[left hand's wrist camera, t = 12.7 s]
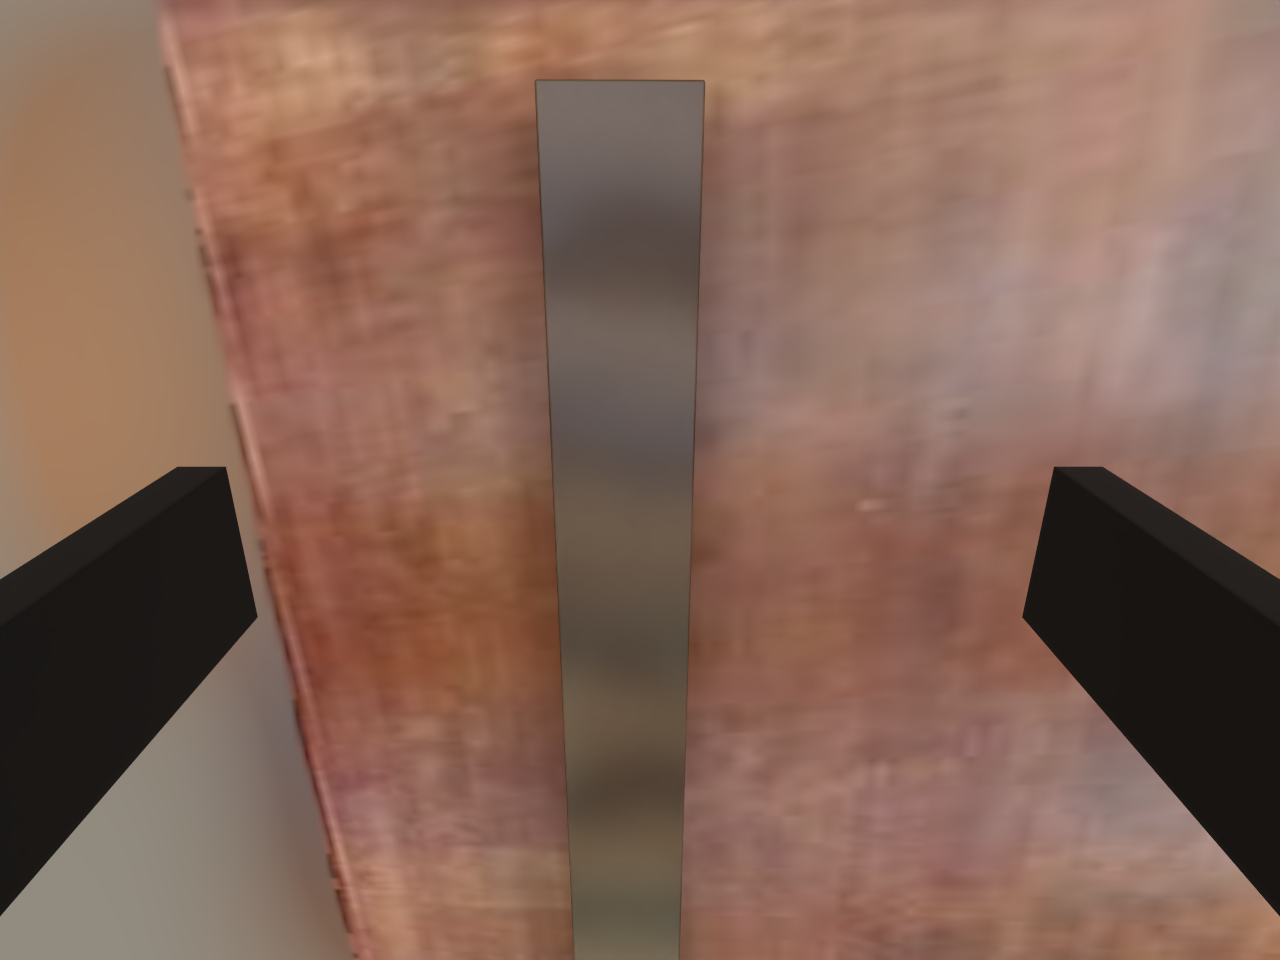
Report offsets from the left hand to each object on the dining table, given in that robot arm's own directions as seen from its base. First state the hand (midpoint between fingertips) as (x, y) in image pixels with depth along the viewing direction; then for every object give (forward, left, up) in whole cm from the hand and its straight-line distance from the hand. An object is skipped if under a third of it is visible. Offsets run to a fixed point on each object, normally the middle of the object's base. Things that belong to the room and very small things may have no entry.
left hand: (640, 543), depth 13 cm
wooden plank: (-22, +5, -20) cm, 29 cm away
